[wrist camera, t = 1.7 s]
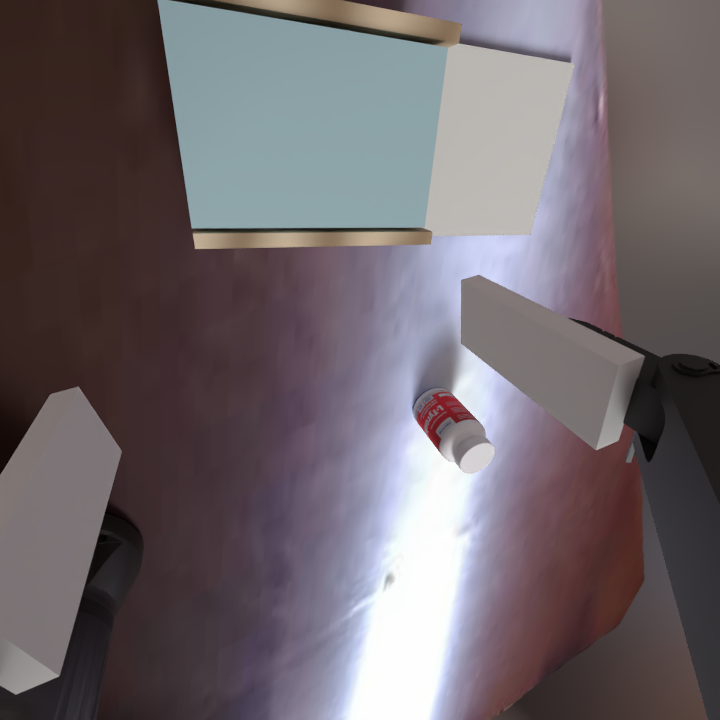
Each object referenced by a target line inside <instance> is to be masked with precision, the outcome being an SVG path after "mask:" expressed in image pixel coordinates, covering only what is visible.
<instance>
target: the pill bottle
mask: <svg viewBox="0 0 720 720" xmlns="http://www.w3.org/2000/svg"><path fill="white" fill-rule="evenodd" d="M413 415H414V418H415V420H416V421H417V423H418V424H419V425H420V427H421V428H422V429H423V431H424V432H425V433H426V435H427V436H428V437H429V439H430V440H431V441H432V443H433V444H434V445H435V447H436V448H437V449H438V451H439V452H440V453H441V454H442V456H443V457H444V458H445V459H446V460H448V461H451V462H455V463H456V464H457V465H458V466H459V468H460V469H461V470H462V471H463V472H465V473H475V472H478V471H480V470H482V469H483V468H485V467H486V466H487V465H488V464H489V463H490V462H491V460H492V458H493V456H494V453H495V449H494V446H493V445H492V444H491V443H490V441H489V440H488V439H487V438H485V437H486V434H485V429H484V427H483V426H482V425H481V423H480V422H479V421H478V420H477V419H476V418H475V417H474V416H473V415H472V414H471V413H470V412H469V411H468V410H467V409H466V408H465V407H464V406H463V405H462V404H461V403H460V402H459V401H458V400H457V399H456V398H455V396H454V395H453V394H452V393H450V392H449V391H448V390H446V389H444V388H433V389H430V390H428V391H426V392H425V393H423V394H422V395H421V396H420V397H419V398H418V400H417V401H416V403H415V405H414V409H413Z"/></svg>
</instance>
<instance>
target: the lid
mask: <svg viewBox="0 0 720 720" xmlns="http://www.w3.org/2000/svg"><path fill="white" fill-rule="evenodd" d="M158 6H159V13H160V19H161V26H162V33H163V39H164V46H165V53H166V59H167V66H168V73H169V79H170V86H171V93H172V99H173V106H174V113H175V119H176V126H177V133H178V139H179V146H180V153H181V159H182V166H183V173H184V179H185V186H186V193H187V199H188V206H189V213H190V219H191V226H192V228H425V221H426V213H427V205H428V198H429V190H430V182H431V175H432V167H433V159H434V152H435V144H436V136H437V129H438V121H439V113H440V106H441V98H442V90H443V83H444V75H445V67H446V60H447V52H448V47H442V46H436V45H430V44H424V43H418V42H412V41H407V40H401V39H395V38H389V37H383V36H377V35H371V34H365V33H359V32H354V31H348V30H342V29H336V28H330V27H324V26H318V25H312V24H306V23H301V22H295V21H289V20H283V19H277V18H271V17H265V16H259V15H253V14H247V13H242V12H236V11H230V10H224V9H218V8H212V7H206V6H200V5H194V4H189V3H183V2H177V1H171V0H158Z"/></svg>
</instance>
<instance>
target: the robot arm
mask: <svg viewBox="0 0 720 720" xmlns="http://www.w3.org/2000/svg"><path fill="white" fill-rule="evenodd" d="M461 344H463V345H464V346H465V347H466V348H468V349H469V350H470V351H471V352H473V353H474V354H475V355H476V356H478V357H479V358H480V359H482V360H483V361H484V362H485V363H487V364H488V365H489V366H490V367H492V368H493V369H494V370H495V371H497V372H498V373H499V374H500V375H502V376H503V377H504V378H505V379H507V380H508V381H509V382H511V383H512V384H513V385H514V386H516V387H517V388H518V389H519V390H521V391H522V392H523V393H524V394H526V395H527V396H528V397H529V398H531V399H532V400H533V401H535V402H536V403H537V404H538V405H540V406H541V407H542V408H543V409H545V410H546V411H547V412H548V413H550V414H551V415H552V416H553V417H555V418H556V419H557V420H558V421H560V422H561V423H562V424H564V425H565V426H566V427H567V428H569V429H570V430H571V431H572V432H574V433H575V434H576V435H577V436H579V437H580V438H581V439H582V440H584V441H585V442H586V443H588V444H589V445H590V446H591V447H593V448H594V449H595V450H598V449H600V448H602V447H605V446H607V445H609V444H612V443H614V442H617V441H619V437H620V434H621V431H622V428H623V425H624V424H626V425H627V426H629V427H630V428H632V429H633V430H635V432H634V435H633V438H632V441H631V444H630V446H629V449H628V452H627V455H626V462H628V463H631V460H632V457H633V456H634V455H635V454H636V457H637V460H638V464H639V468H640V471H641V475H642V479H643V482H644V486H645V490H646V493H647V497H648V501H649V504H650V508H651V512H652V515H653V519H654V522H655V526H656V530H657V534H658V537H659V541H660V544H661V548H662V552H663V556H664V559H665V563H666V567H667V570H668V574H669V578H670V581H671V585H672V588H673V592H674V596H675V600H676V603H677V607H678V611H679V614H680V618H681V621H682V625H683V629H684V632H685V636H686V640H687V644H688V648H689V651H690V655H691V659H692V662H693V666H694V670H695V673H696V677H697V680H698V684H699V688H700V692H701V695H702V699H703V703H704V706H705V710H706V714H707V717H708V720H720V365H719V364H717V363H715V362H713V361H711V360H709V359H706V358H702V357H699V356H695V355H688V354H671V355H667V356H664V357H662V358H661V357H659V356H657V355H654V354H653V353H650V352H648V351H646V350H644V349H642V348H640V347H638V346H636V345H634V344H631V343H629V342H627V341H625V340H623V339H621V338H619V337H616V338H615V336H614V335H613V334H610V333H608V332H606V331H602V329H600V328H598V327H596V326H594V325H591V324H589V323H587V322H583V321H579V320H575V319H571V318H566V317H564V316H562V315H560V314H558V313H556V312H554V311H552V310H550V309H548V308H546V307H544V306H542V305H539V304H537V303H535V302H533V301H531V300H529V299H527V298H525V297H523V296H521V295H519V294H517V293H515V292H513V291H511V290H509V289H507V288H505V287H503V286H501V285H499V284H497V283H494V282H492V281H490V280H488V279H486V278H484V277H482V276H480V275H477V276H474V277H470V278H467V279H463V280H461ZM121 452H122V451H121V449H120V448H119V446H118V445H117V443H116V442H115V440H114V439H113V437H112V436H111V434H110V433H109V431H108V430H107V429H106V427H105V426H104V424H103V423H102V421H101V420H100V418H99V417H98V415H97V414H96V412H95V411H94V409H93V408H92V406H91V405H90V403H89V402H88V400H87V399H86V397H85V396H84V394H83V393H82V391H81V390H80V388H79V387H75V388H72V389H68V390H65V391H61V392H57V393H54V394H50V396H49V397H48V399H47V401H46V402H45V404H44V405H43V407H42V409H41V410H40V412H39V414H38V415H37V417H36V418H35V420H34V422H33V423H32V425H31V426H30V428H29V430H28V431H27V433H26V434H25V436H24V438H23V439H22V441H21V442H20V444H19V446H18V447H17V449H16V451H15V452H14V454H13V455H12V457H11V459H10V460H9V462H8V463H7V465H6V467H5V468H4V470H3V471H2V473H1V475H0V720H96V716H97V711H98V705H99V700H100V694H101V689H102V683H103V678H104V672H105V667H106V661H107V656H108V650H109V645H110V639H111V634H112V629H113V624H114V619H115V617H116V615H117V613H118V611H119V609H120V608H121V606H122V604H123V602H124V600H125V598H126V596H127V595H128V593H129V591H130V589H131V587H132V585H133V583H134V581H135V580H136V578H137V576H138V574H139V571H140V568H141V563H142V556H143V549H144V546H143V541H142V538H141V536H140V534H139V533H138V531H137V530H136V529H135V528H134V527H133V526H132V525H130V524H129V523H128V522H126V521H124V520H123V519H120V518H118V517H116V516H113V515H110V514H107V513H105V510H106V507H107V503H108V499H109V496H110V492H111V488H112V485H113V481H114V478H115V474H116V470H117V467H118V463H119V459H120V456H121Z"/></svg>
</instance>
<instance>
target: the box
mask: <svg viewBox="0 0 720 720" xmlns="http://www.w3.org/2000/svg"><path fill="white" fill-rule="evenodd" d="M171 1H177V2H183V3H189V4H194V5H200V6H206V7H212V8H218V9H224V10H230V11H236V12H242V13H247V14H253V15H259V16H265V17H271V18H277V19H283V20H289V21H295V22H301V23H306V24H312V25H318V26H324V27H330V28H336V29H342V30H348V31H354V32H359V33H365V34H371V35H377V36H383V37H389V38H395V39H401V40H407V41H412V42H418V43H424V44H430V45H436V46H442V47H448V48H449V47H451V46H454V45H456V44H459V40H460V33H461V26H462V24H461V23H456V22H451V21H445V20H440V19H435V18H430V17H425V16H420V15H415V14H410V13H404V12H399V11H394V10H389V9H384V8H379V7H374V6H369V5H363V4H358V3H353V2H348V1H343V0H171ZM193 237H194V244H195V249H217V248H268V247H319V246H370V245H421V244H431V239H432V231H429V230H427V229H424V228H194V230H193Z"/></svg>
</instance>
